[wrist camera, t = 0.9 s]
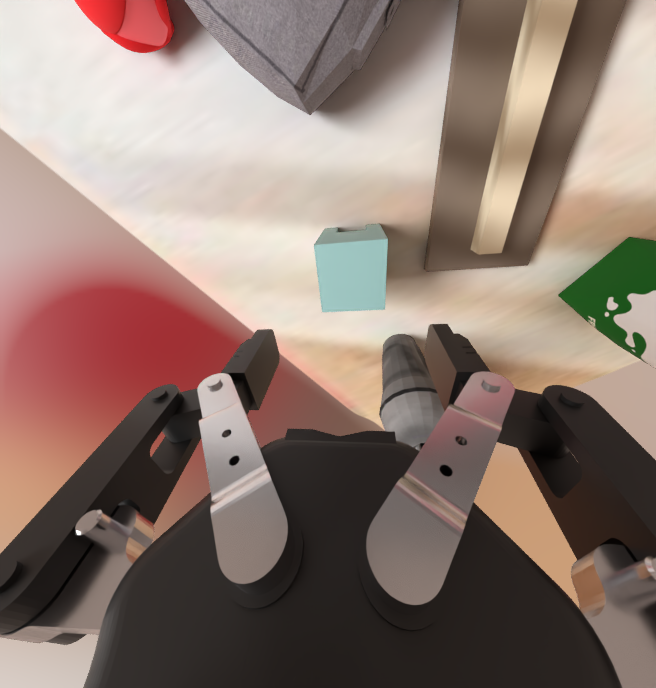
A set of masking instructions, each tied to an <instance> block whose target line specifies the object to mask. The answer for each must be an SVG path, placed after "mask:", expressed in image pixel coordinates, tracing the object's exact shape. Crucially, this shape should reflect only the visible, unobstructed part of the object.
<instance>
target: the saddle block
mask: <svg viewBox="0 0 656 688" xmlns="http://www.w3.org/2000/svg"><path fill="white" fill-rule="evenodd" d="M387 248H388V238H387V236H386V235H385V233H384V231H383V229H382V227H381V225H380V224H371V225H366V230H358V231H347V232H338V228H327V229H324V231H323V232H322V234H321V235H320V237H319V238H318V240H317V241H316V243H315V244H314V249H315V257H316V265H317V274H318V282H319V290H320V298H321V306H322V312H337V311H360V310H383V309H385V296H386V272H387Z"/></svg>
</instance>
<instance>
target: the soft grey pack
mask: <svg viewBox="0 0 656 688" xmlns="http://www.w3.org/2000/svg"><path fill="white" fill-rule="evenodd" d="M400 1H401V0H185V2H186V3H187V4H188V6H189V7H190V9H191V10H192V11H193V13H194V14H195V16H196V17H197V18H198V20H199V21H200V22H201V24H202V25H203V26H204V27H205V28H206V29H207V30H208V31H209V32H210V33H211V34H212V36H213V37H214V38H215V39H216V40H217V41H218V42H219V43H220V44H221V45H222V46H223V47H224V48H225V50H226V51H227V52H228V53H229V54H230V55H231V56H232V57H233V58H234V59H235V60H236V61H237V62H238V64H239V65H240V66H242V67H243V68H244V69H245V70H246V71H248V72H249V73H250V74H251V75H252V76H254V77H255V78H256V79H257V80H258V81H259V82H261V83H262V84H263V85H264V86H265V87H267V88H268V89H269V90H270V91H271V92H273V93H274V94H275V95H276V96H277V97H279V98H281V99H283V100H284V101H286V102H288V103H290V104H291V105H293V106H295V107H297V108H298V109H300V110H302V111H304V112H305V113H307V114H309V115H311V114H312V113H313V112H314V111H315V110H316V109H317V108H318V107H319V106H320V105H321V104H322V103H323V102H324V101H325V100H326V99H327V98H328V97H329V96H330V95H331V94H332V93H333V91H334V90H335V89H336V88H337V87H338V86H339V85H340V84H341V83H342V82H343V81H344V80H345V79H346V78H347V77H348V76H349V75H350V74H351V73H352V72H353V71H354V70H361V68H362V66H363V65H364V63H365V61H366V60H367V58H368V56H369V54H370V53H371V51H372V49H373V47H374V46H375V44H376V42H377V40H378V39H379V37H380V35H381V34H382V32H383V30H384V28H385V27H386V30H387V28H388V26H389V24H390V22H391V20H392V18H393V16H394V14H395V12H396V10H397V7H398V5H399V3H400ZM386 25H387V26H386Z"/></svg>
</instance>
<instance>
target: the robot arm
mask: <svg viewBox="0 0 656 688" xmlns="http://www.w3.org/2000/svg"><path fill="white" fill-rule="evenodd" d="M425 362H426V365H427V367H428V370H429V372H430V375H431V378H432V380H433V383H434V385H435V388H436V391H437V393H438V396H439V398H440V401H441V404H442V406H443V409H444V414H443V415H442V417H441V418H440V420H439V422H438V423H437V425H436V426H435V428H434V430H433V431H432V433H431V434H430V436H429V437H428V439H427V441H426V442H425V444H424V445H423V447H422V449H421V450H420V451H419V450H417V449H415V448H414V447H412V446H410V445H408V444H405V443H403V442H400V441H396V436H395V432H390V431H365V432H359V433H354V434H350V435H345V436H335V435H331V434H328V433H324V432H320V431H317V430H313V429H288V430H287V433H286V437H284V438H281V439H277V440H275V441H273V442H270V443H269V444H267V445H265V446H264V447H262V448H261V447H260V445H259V442H258V440H257V437H256V435H255V432H254V430H253V427H252V425H251V423H250V420H249V418H248V415H247V414H248V412H249V410H259V408H260V406H261V404H262V401H263V399H264V397H265V394H266V392H267V390H268V387H269V385H270V382H271V380H272V378H273V376H274V373H275V371H276V368H277V366H278V364H279V351H278V347H277V343H276V339H275V336H274V332H273V330H272V329H265V330H257V331H256V332H255V334H254V335H253V337H252V338H251V339H248V340H246V341H245V342H244V343H242V344H241V345H240V347H239V348H238V349H237V352H235V354H234V355H233V357H232V358H231V359H230V361H229V362H228V363H227V365H226V367H225V368H224V369H223V370H222V372H221V373H219V374H215V375H212V376H209V377H208V378H206V379H205V380H203V381H202V382H201V383H200V385H199V386H198V388H197V389H193V390H189V391H185V392H180V390H179V388H178V387H177V386H176V385H173V384H168V385H164V386H161V387H158V388H156V389H154V390H152V391H151V392H149V393H148V394H147V395H146V396H145V397H144V398H143V399H142V400H141V401H140V402H139V403H138V404H137V405H136V407H135V408H134V409H133V410H132V411H131V412H130V413H129V414H128V415H127V416H126V417H125V418H124V420H123V421H122V422H121V423H120V424H119V425H118V426H117V427H116V428H115V429H114V430H113V432H112V433H111V434H110V435H109V436H108V437H107V438H106V439H105V440H104V442H102V444H101V445H100V446H99V447H98V448H97V449H96V450H95V451H94V452H93V453H92V455H91V456H90V457H89V458H88V459H87V460H86V461H85V462H84V463H83V464H82V466H81V467H80V468H79V469H78V470H77V471H76V472H75V473H74V474H73V475H72V476H71V477H70V478H69V480H68V481H67V482H66V483H65V484H64V485H63V486H62V487H61V488H60V489H59V491H58V492H57V493H56V494H55V495H54V496H53V497H52V498H51V499H50V501H48V502H47V504H46V505H45V506H44V507H43V508H42V509H41V510H40V511H39V512H38V514H37V515H36V516H35V517H34V518H33V519H32V520H31V521H30V522H29V523H28V524H27V525H26V527H25V528H24V529H23V530H22V531H21V532H20V533H19V534H18V535H17V536H16V537H15V539H14V540H13V541H12V542H11V543H10V544H9V545H8V546H7V547H6V549H4V551H3V552H2V553H1V554H0V637H2V638H7V639H14V640H20V641H27V642H33V643H41V642H50V643H57V644H63V645H67V644H71V643H73V642H76V641H78V640H79V639H81V638H82V637H84V636H85V635H86V634H96V635H99V638H98V641H97V646H96V650H95V654H94V657H93V660H92V664H91V667H90V670H89V673H88V676H87V679H86V682H85V685H84V687H83V688H656V460H655V459H654V458H653V457H652V456H651V455H650V454H649V453H648V452H647V451H646V450H645V449H644V448H642V446H641V445H640V444H639V443H638V442H637V441H636V440H635V439H634V438H633V437H632V436H631V435H630V434H629V433H628V432H626V430H625V429H624V428H623V427H622V426H621V425H620V424H619V423H618V422H617V421H616V420H615V419H613V418H612V416H611V415H609V413H608V412H607V411H606V410H605V409H604V408H602V406H601V405H599V404H598V402H597V401H595V400H594V399H593V398H592V397H590V396H589V395H587V394H585V393H583V392H581V391H579V390H577V389H574V388H571V387H567V386H561V385H552V386H548V387H546V388H545V389H544V391H543V393H542V394H537V393H532V392H527V391H522V390H518V389H515V388H514V386H513V384H512V383H511V382H510V381H509V380H508V379H506V378H505V377H503V376H501V375H498V374H496V373H492V372H490V370H489V369H488V367H487V366H486V365H485V363H484V362H483V360H482V359H481V358H480V356H479V355H478V354H477V352H476V350H475V349H474V348H473V346H472V345H471V343H470V342H469V341H468V339H466V338H465V337H463V336H462V335H460V334H453V332H452V330H451V329H450V327H449V326H448V324H431V325H430V326H429V328H428V334H427V340H426V346H425ZM161 431H162V432H163V433H164V434H165V438H164V439H163V441H162V442H161V444H160V445H159V447H158V448H157V450H156V451H155V452H154V454H153V456H152V457H150V449H151V446H152V444H153V443H154V441H155V440H156V438H157V437H158V435H159V434H160V433H161ZM201 438H202V443H203V449H204V455H205V461H206V467H207V473H208V478H209V485H210V490H211V492H210V493H209V494H208V495H207V496H206V497H205V498H204V499H202V500H201V501H200V502H199V503H198V504H197V505H196V506H194V507H193V508H192V509H191V510H190V511H189V512H188V513H186V514H185V515H184V516H183V517H182V518H181V519H179V520H178V521H177V522H176V523H175V524H174V525H173V526H172V527H170V528H169V529H168V530H167V531H166V532H165V533H163V534H162V535H161V536H160V537H159V538H158V539H157V540H156V541H154V542H153V543H152V541H153V537H154V532H155V531H154V524H155V522H156V520H157V518H158V516H159V514H160V513H161V511H162V509H163V507H164V505H165V503H166V502H167V500H168V498H169V496H170V494H171V492H172V491H173V489H174V487H175V485H176V483H177V481H178V480H179V478H180V476H181V474H182V472H183V470H184V468H185V466H186V465H187V463H188V461H189V459H190V458H191V456H192V454H193V452H194V450H195V448H196V446H197V445H198V443H199V441H200V439H201ZM496 442H499V443H502V444H506V445H509V446H513V447H516V448H518V450H519V452H520V454H521V455H522V457H523V459H524V461H525V463H526V465H527V467H528V468H529V470H530V472H531V474H532V476H533V478H534V480H535V482H536V483H537V485H538V487H539V489H540V491H541V493H542V494H543V497H544V498H545V500H546V502H547V504H548V506H549V508H550V509H551V511H552V513H553V515H554V517H555V519H556V521H557V523H558V525H559V527H560V528H561V530H562V532H563V534H564V536H565V538H566V539H567V541H568V543H569V545H570V547H571V549H572V551H573V553H574V555H575V556H576V558H577V561H576V562H575V563H574V564H573V566H572V569H571V578H572V582H573V585H574V587H575V590H576V593H577V597H578V600H579V607H580V609H579V608H578V607H577V605H576V604H575V603H574V602H573V601H572V599H571V598H570V597H569V596H568V595H567V594H566V593H565V592H564V591H563V590H562V589H561V588H560V587H559V586H558V585H557V584H556V583H555V582H554V581H553V580H552V579H551V578H550V577H549V576H548V575H547V574H546V573H545V572H544V571H543V570H542V569H541V568H540V567H539V566H538V565H537V564H536V563H535V562H534V561H533V560H532V559H531V558H530V557H529V556H528V555H527V554H526V553H525V552H524V551H523V550H522V549H521V548H520V547H519V546H518V545H517V544H516V543H515V542H514V541H513V540H511V538H510V537H508V536H507V535H506V534H505V533H504V532H503V531H502V530H501V529H500V528H499V527H498V526H497V525H496V524H495V523H494V522H493V521H492V520H491V519H490V518H489V517H488V516H487V515H486V514H485V513H484V512H483V511H482V510H481V509H480V508H479V507H478V506H477V505H476V504H475V503H474V499H475V497H476V494H477V491H478V489H479V486H480V484H481V481H482V478H483V476H484V473H485V471H486V468H487V466H488V463H489V460H490V458H491V455H492V453H493V450H494V447H495V445H496ZM570 451H571V452H570ZM572 454H573V455H572ZM575 458H576V459H575ZM577 461H578V462H577ZM151 543H152V544H151Z"/></svg>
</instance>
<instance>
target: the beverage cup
mask: <svg viewBox="0 0 656 688" xmlns="http://www.w3.org/2000/svg"><path fill="white" fill-rule="evenodd" d="M382 369H383V394H382V401H381V407H380V413H379V415H380V418H381V421H382V424H383V426H384V429H385V431H390V432H395V436H396V441H400V442H403V443H405V444H408V445H410V446H412V447H414V448H415V449H417V450H419V451H420V450H421V449H422V447H423V445H424V444H425V442H426V441H427V439H428V437H429V436H430V434H431V433H432V431H433V430H434V428H435V426H436V425H437V423H438V422H439V420H440V418H441V417H442V415H443V414H444V409H443V406H442V404H441V401H440V398H439V396H438V393H437V391H436V388H435V385H434V383H433V380H432V378H431V375H430V372H429V370H428V367H427V365H426V362H425V358H424V356H423V354H422V352H421V351H420V349H419V347H418V346H417V344H416V343H415V341H414V340H413V338H411V337H410V336H408V335H405V334H397V335H393V336H391V337H390V338H388V339H387V340H386V341H385V343H384V345H383V355H382Z"/></svg>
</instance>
